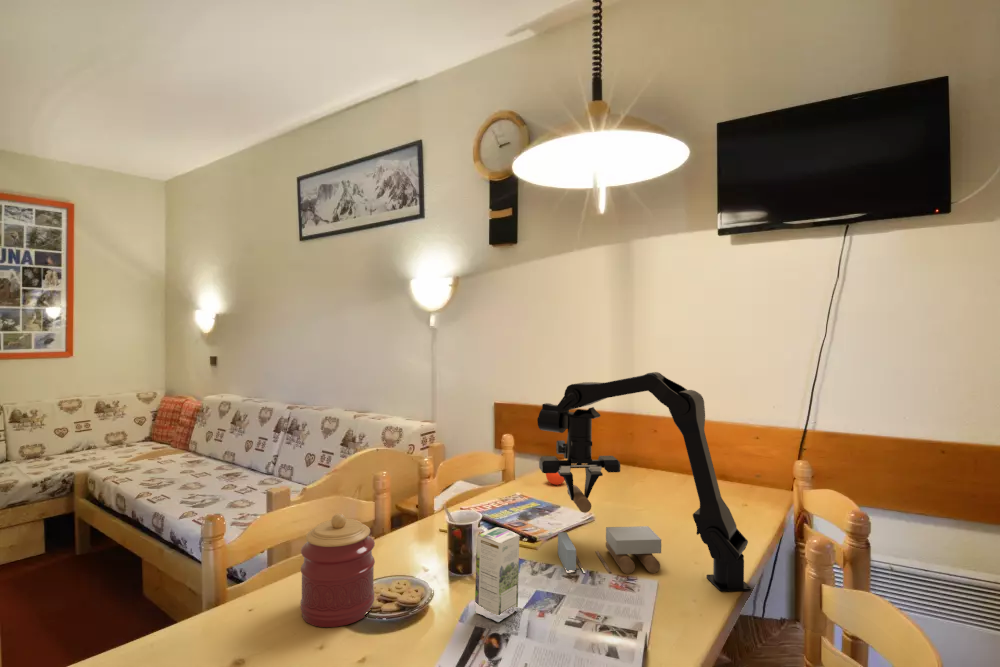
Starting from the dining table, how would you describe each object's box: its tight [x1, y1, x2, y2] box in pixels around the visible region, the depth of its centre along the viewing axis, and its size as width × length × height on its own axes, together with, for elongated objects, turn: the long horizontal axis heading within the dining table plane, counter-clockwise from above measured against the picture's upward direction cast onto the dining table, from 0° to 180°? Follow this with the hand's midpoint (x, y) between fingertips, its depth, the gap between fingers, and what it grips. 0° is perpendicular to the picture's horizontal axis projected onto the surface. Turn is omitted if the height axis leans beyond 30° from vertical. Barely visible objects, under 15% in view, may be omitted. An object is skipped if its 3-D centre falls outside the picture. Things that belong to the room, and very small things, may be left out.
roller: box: [567, 484, 592, 514], centre depth 130 cm, size 12×3×3 cm, turn 5°
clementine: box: [545, 472, 565, 486], centre depth 182 cm, size 8×7×7 cm
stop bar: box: [557, 531, 577, 571], centre depth 120 cm, size 10×2×5 cm, turn 5°
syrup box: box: [474, 526, 520, 615], centre depth 99 cm, size 6×6×14 cm
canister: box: [300, 513, 376, 628], centre depth 99 cm, size 13×13×18 cm
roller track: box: [576, 540, 661, 575], centre depth 121 cm, size 12×17×3 cm
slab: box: [605, 525, 662, 555], centre depth 121 cm, size 8×10×3 cm
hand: (578, 499), depth 130 cm, fingers closed on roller, 3 cm apart
